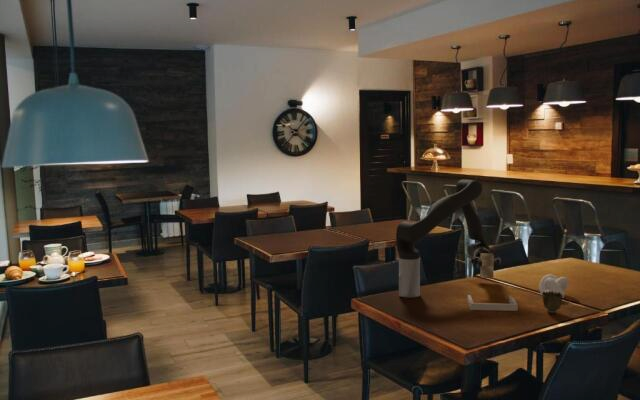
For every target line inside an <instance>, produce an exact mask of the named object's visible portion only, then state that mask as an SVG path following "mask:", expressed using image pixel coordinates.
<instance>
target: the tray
mask: <svg viewBox="0 0 640 400" xmlns="http://www.w3.org/2000/svg"><path fill="white" fill-rule="evenodd" d="M467 302H468V303H467V304H468V306H469V309H470V310H471V311H473V310H474V311H507V312H508V311H514V312H516V311H517V312H518V305H519V304H518V303H517V301H516V300H515V298H514V297H513V295H509V296H508V303H497V302H496V303H493V302H487V303H486V302H485V303H484V302H483V303H482V302H474V300H473V298H472V295H471V294H467Z"/></svg>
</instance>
